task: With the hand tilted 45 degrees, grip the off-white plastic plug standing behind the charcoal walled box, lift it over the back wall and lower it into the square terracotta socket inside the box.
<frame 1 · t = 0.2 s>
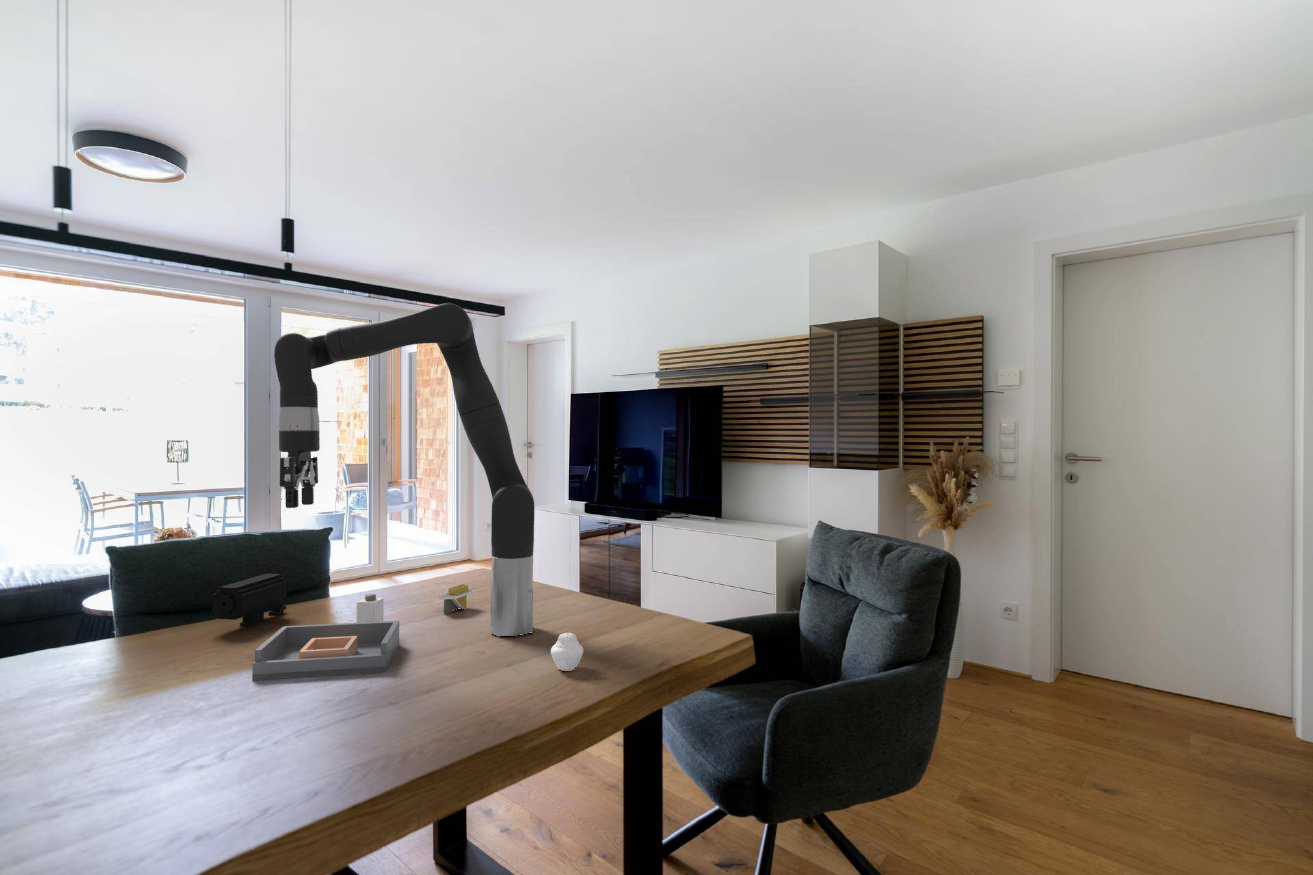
hand: (300, 506, 135), 29 cm above the table, tool pointing down, fingers open, 8 cm apart
platform: (457, 613, 161), on the table
white lidded jar: (566, 670, 121), on the table
plug: (369, 636, 139), on the table
security camera: (254, 623, 148), on the table
walled box: (331, 660, 124), on the table
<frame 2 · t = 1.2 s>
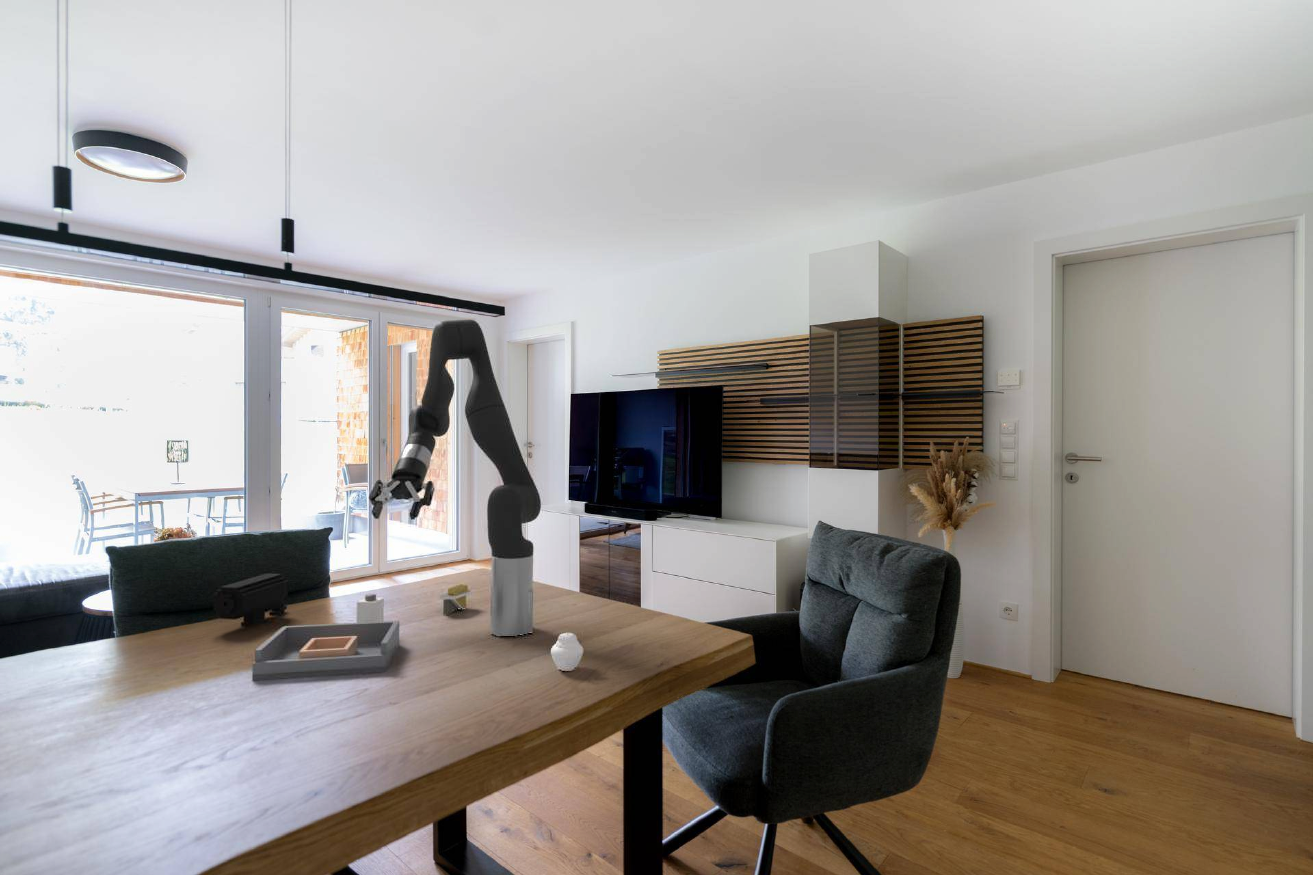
hand: (393, 517, 150), 25 cm above the table, tool tilted 45°, fingers open, 8 cm apart
nothing on the table moved.
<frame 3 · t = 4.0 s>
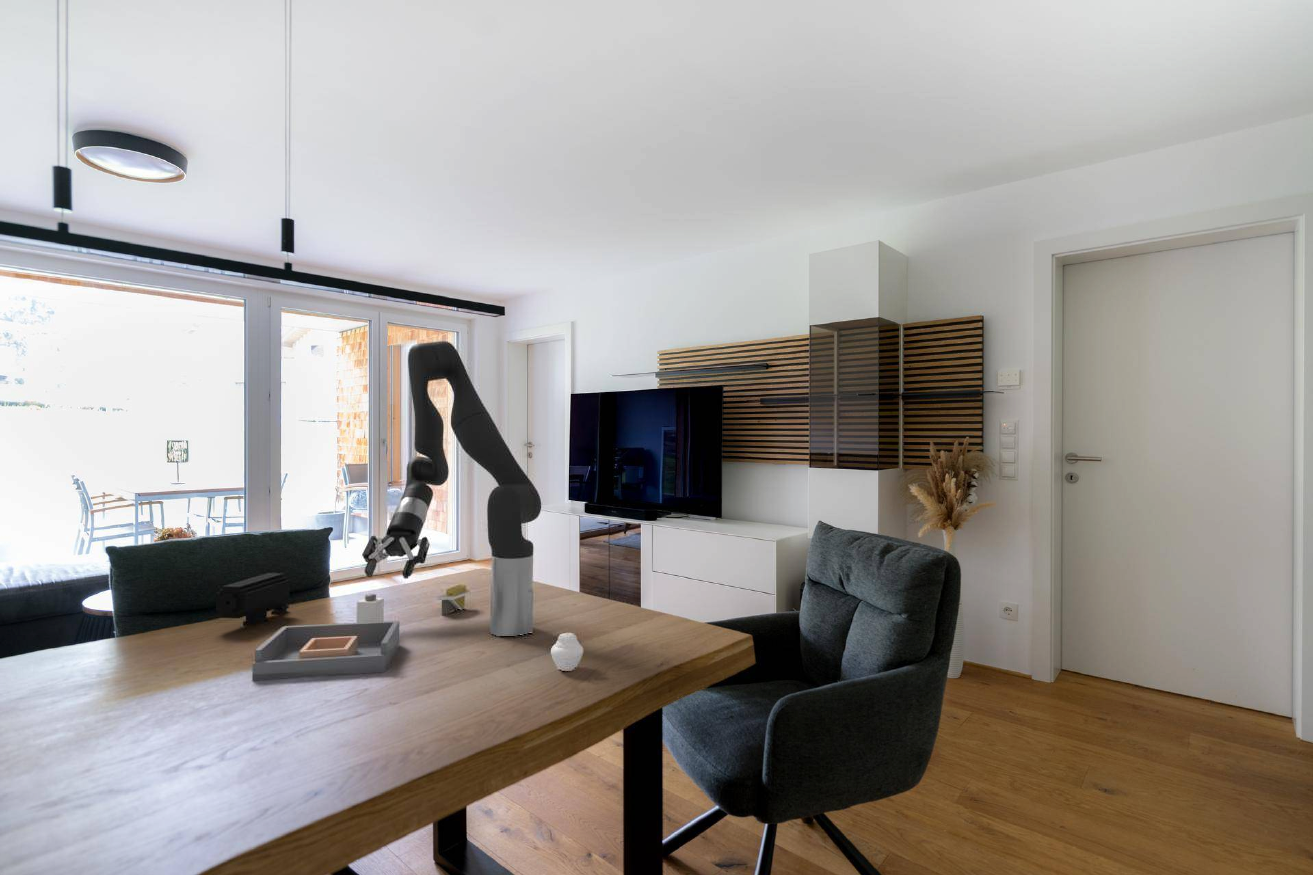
hand: (386, 576, 147), 12 cm above the table, tool tilted 45°, fingers open, 8 cm apart
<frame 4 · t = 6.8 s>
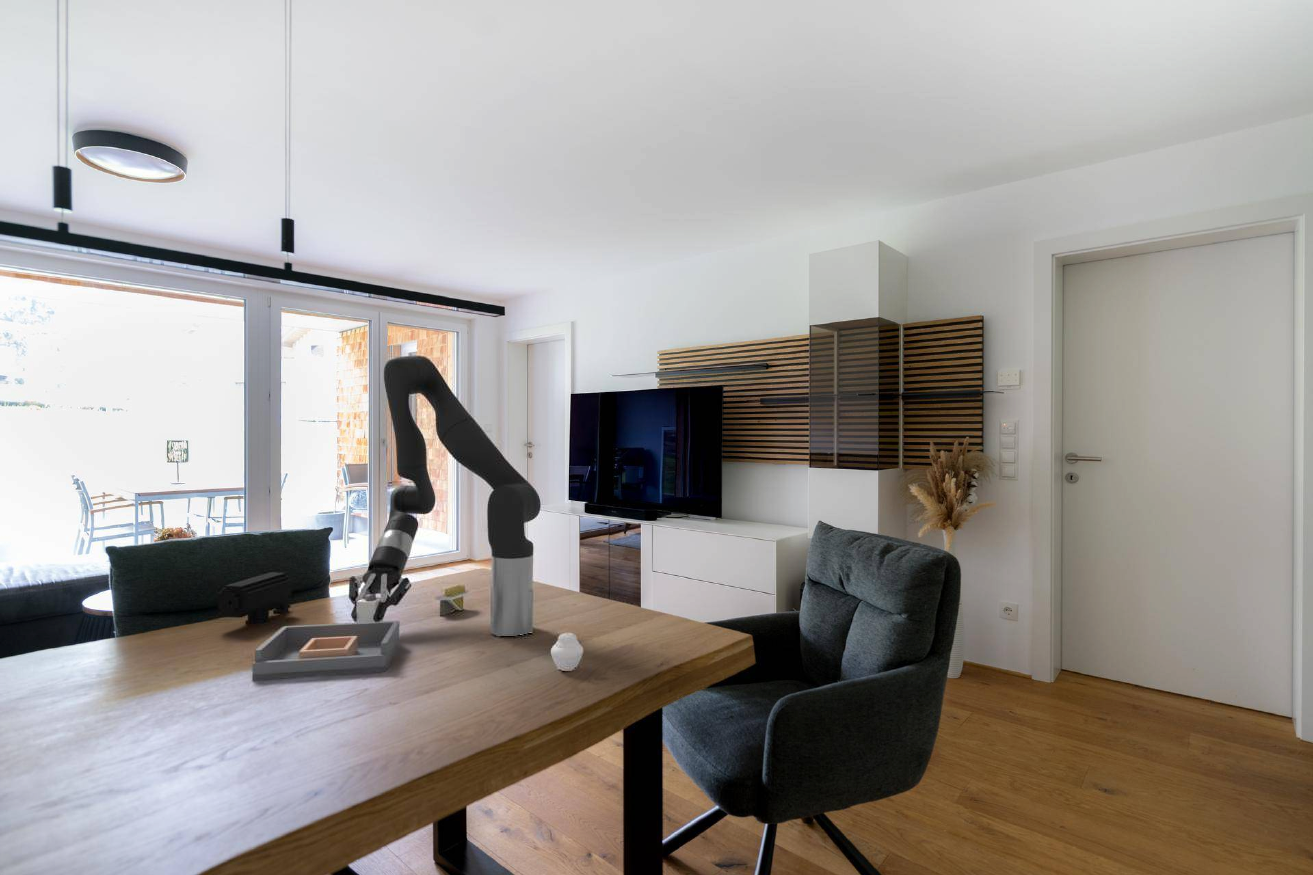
hand: (365, 620, 137), 4 cm above the table, tool tilted 45°, fingers closed on plug, 4 cm apart
plug: (369, 636, 139), on the table, touching gripper
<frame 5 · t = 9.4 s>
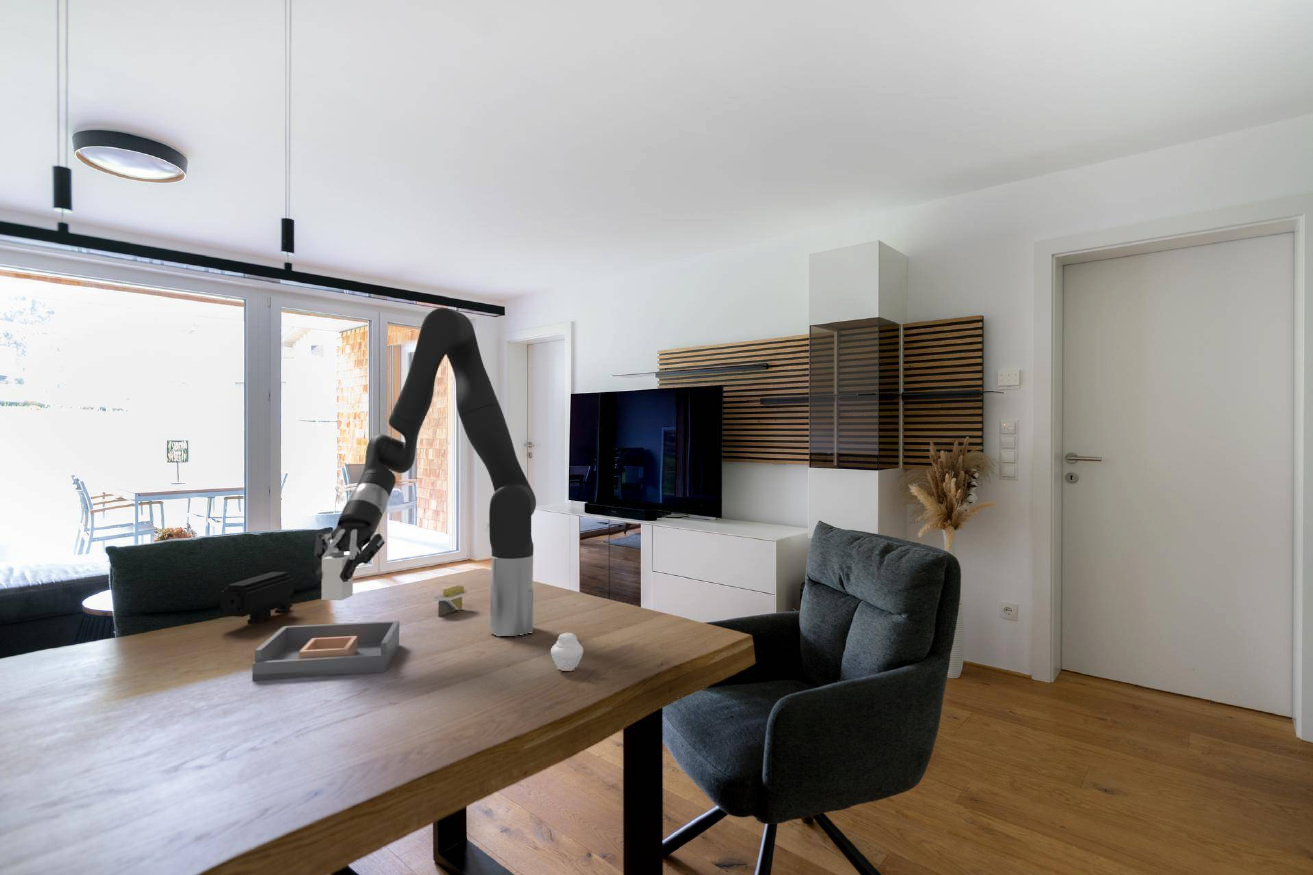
hand: (332, 578, 123), 16 cm above the table, tool tilted 45°, fingers closed on plug, 4 cm apart
plug: (337, 597, 125), point 12 cm above the table, touching gripper
when the fingers open (6 cm above the table, at t = 12.4 s): plug stays where it is, resting on walled box.
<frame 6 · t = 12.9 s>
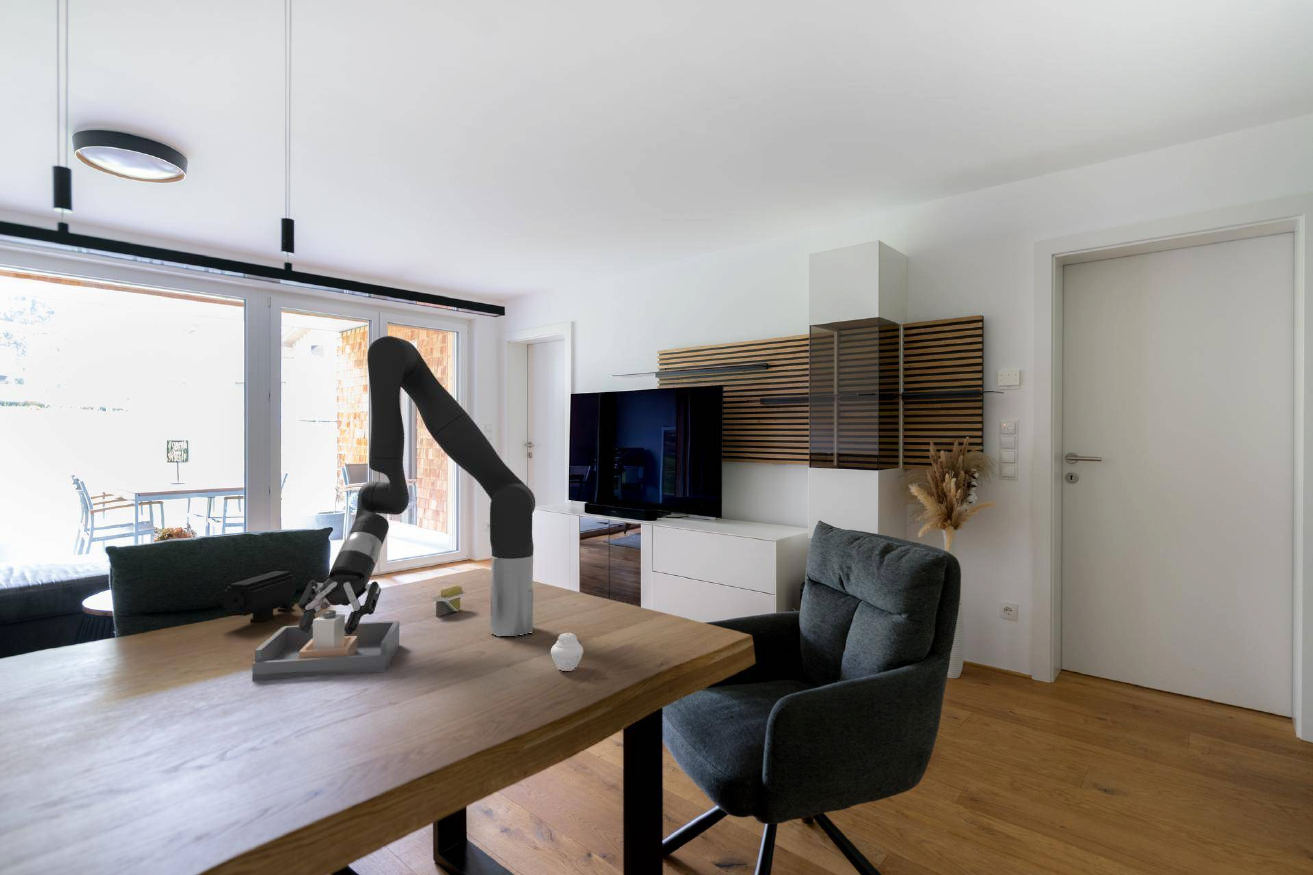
hand: (325, 631, 120), 7 cm above the table, tool tilted 45°, fingers open, 8 cm apart
plug: (328, 659, 122), point 1 cm above the table, touching walled box
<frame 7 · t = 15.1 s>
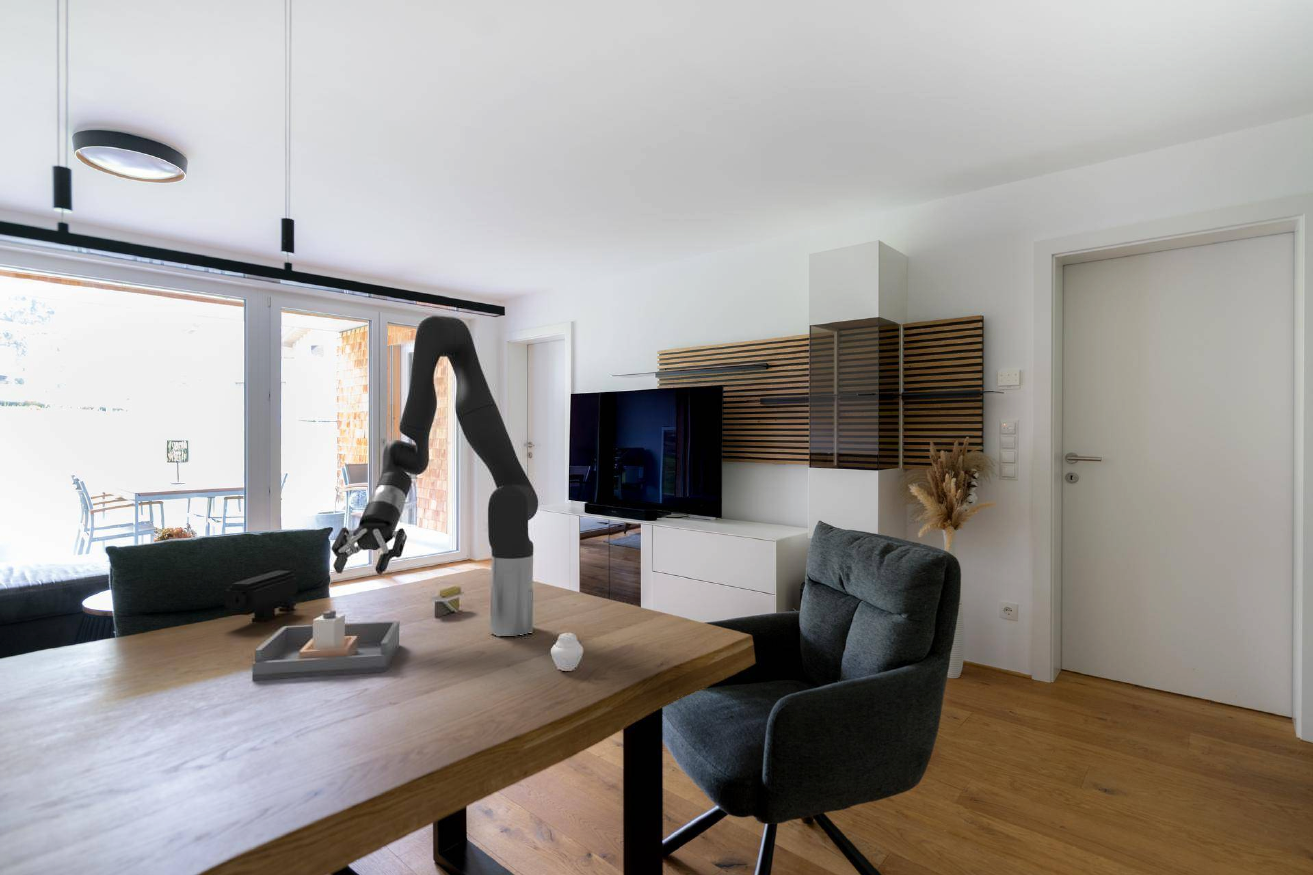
hand: (358, 571, 132), 16 cm above the table, tool tilted 45°, fingers open, 8 cm apart
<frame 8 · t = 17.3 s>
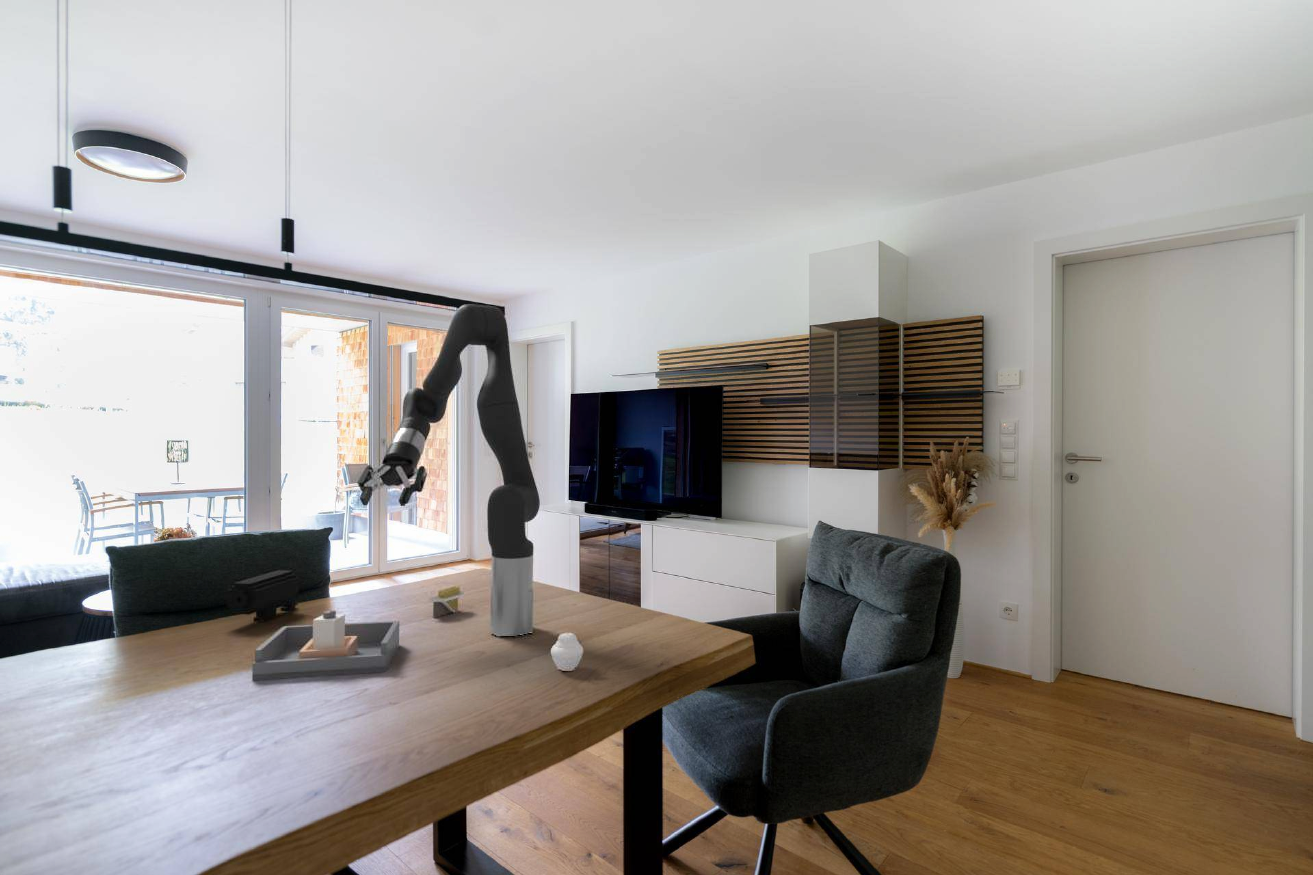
hand: (382, 503, 142), 29 cm above the table, tool tilted 45°, fingers open, 8 cm apart
at the end: plug 0.1 cm from the target spot on the walled box, point 1.0 cm above the walled box's base; plug tilted 0°; the gripper is holding nothing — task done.
